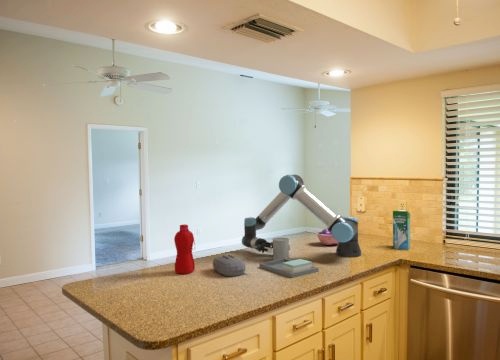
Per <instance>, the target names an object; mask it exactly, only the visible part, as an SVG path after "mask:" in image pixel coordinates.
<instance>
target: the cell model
mask: <svg viewBox="0 0 500 360" xmlns="http://www.w3.org/2000/svg"><path fill="white" fill-rule="evenodd" d="M315 235H316V237H317V239H318V240H319V242H320V244H322V245H324V246H325V245H326V246H333V245H338V241H336V240H335V239H334V238H333V236H332V234H331V233H330V232H329V231H328V230H327V228H324V229H322V230H321V231H317V232H315Z"/></svg>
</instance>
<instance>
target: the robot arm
mask: <svg viewBox="0 0 500 360" xmlns="http://www.w3.org/2000/svg"><path fill="white" fill-rule="evenodd" d="M278 188H279V190H280V192H279V193H278V194H277V195H276V196H275V197H274V199H272V200H271V201H270V202H269V203H268V205H267V206H266V207H265V208H264V209H263V210H262V211H261V212H260V213H259V215H258V216H256V218H255V217H251V216H250V217H245V218H244V221H243V222H244V224H243V226H244V235H243V236H242V238H241V244H242V246H244V247H246V248H250V249H254V250H256V251H258V252H259V253H263V254H264V253H269V254H273V241H271V242H269V241H267V240H266V239H265V238H261V237H257V231H259V230H262V229H264V228H265V226H266V224H268V223H269V221H270V220H271V219H272V218H273V217H274V216H275V215H276V214H277V213H278V212H279V211H280V210H281V209H282V207H284V206H285V204H286V203H288V202H289V200H290V199H292V200H296V201H298V203H300V204H301V205H302V206H304V207H305V209H307V210H308V211H310V213H312V214H313V216H315V218H317V220H319V221H321V223H323V224H324V225H325V226H326V230H327V231H329V232H330V233H331V234H332V236H333V238H334V239H335V240H336V241H338V244H336V245H337V246H336V249H335V254H336V255H337V256H339V257H346V258H355V257H360V256H362V249H361V246H360V244H359V243H360V242H359V221H358V220H359V219H358V217H348V216H347V217H346V216H342V215H341V214H335V212H333V211H332V210H331V209H330V208H329V207H327V205H325V203H323V202H322V201H321V200H319V198H317V197H316V196H315V195H314V194H312V193H311V192H310V191H309V190H308V189H307V187H306V184H305V181H304V179H303V178H302V177H301V176H300V175H298V174H286V175H283V176H282V177H281V178H280V180H279V182H278ZM289 251H291V245H290V244H289Z"/></svg>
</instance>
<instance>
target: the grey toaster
mask: <svg viewBox="0 0 500 360" xmlns="http://www.w3.org/2000/svg"><path fill="white" fill-rule="evenodd" d="M212 267H213V269H214V271H215V272H216V273H218V274H220V275H222V276H227V277H235V276H236V277H237V276H241V275H243V274H244V273H245V272H246V263H245V262H244V260H242V259H241V258H239V257H237V256H232V255H230V254H227V255H222V256H218V257H215V258H214V259H213V260H212Z"/></svg>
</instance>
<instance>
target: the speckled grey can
mask: <svg viewBox="0 0 500 360" xmlns="http://www.w3.org/2000/svg"><path fill="white" fill-rule="evenodd" d="M289 240H290V239H289V238H288V237H273V238H272V242H273V248H272V261H274V260H280V259H289V260H290V250H289V245H290V244H289V243H290V242H289Z"/></svg>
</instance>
